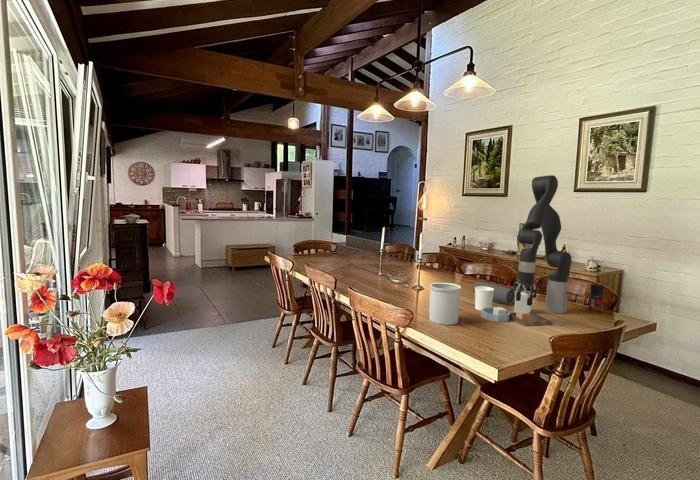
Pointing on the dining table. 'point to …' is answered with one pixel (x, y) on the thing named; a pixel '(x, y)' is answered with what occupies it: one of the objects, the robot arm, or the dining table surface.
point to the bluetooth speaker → (498, 292)
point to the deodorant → (596, 298)
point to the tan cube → (523, 315)
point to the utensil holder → (444, 303)
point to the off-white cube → (499, 311)
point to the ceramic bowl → (489, 315)
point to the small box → (522, 303)
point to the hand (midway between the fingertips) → (523, 302)
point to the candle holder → (483, 297)
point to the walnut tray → (531, 320)
